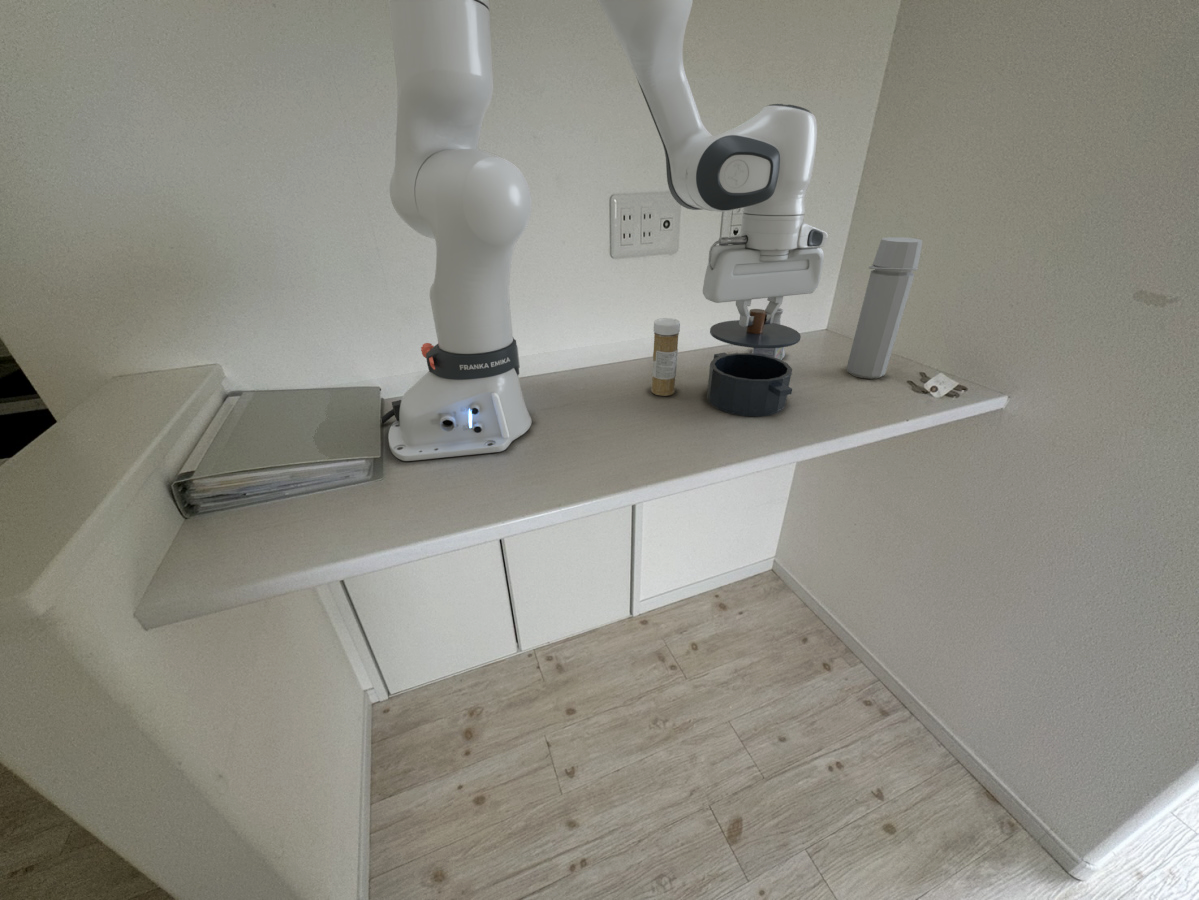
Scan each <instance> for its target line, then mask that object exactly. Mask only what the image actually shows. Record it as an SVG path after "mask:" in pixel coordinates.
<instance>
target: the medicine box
mask: <svg viewBox="0 0 1199 900" xmlns="http://www.w3.org/2000/svg"><path fill="white" fill-rule="evenodd" d="M783 349H784V350H785V347H782V348H752V351H753V354H761V355H766V356H770V357H774V358H778V359H780V360H782V359H783V358H782V355H783ZM782 361H783V360H782Z"/></svg>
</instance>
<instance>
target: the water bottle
mask: <svg viewBox="0 0 1199 900" xmlns="http://www.w3.org/2000/svg"><path fill="white" fill-rule="evenodd" d="M923 242H924V241H923V239H920V238H914V237H899V236H897V237H896V236H894V237H893V236H889V237H887V236H886V237H882V238H881V239H880V242H879V244H878V248H877V250H876V253H875V256H874V259H873V261H872V264H871V265H870V266H868V269H870V273H869V277H868V282H867V285H866V289H865V293H864V298H863V302H862V306H861V310H860V314H859V318H858V322H857V324H856V329H855V333H854V338H853V341H852V345H851V348H850V352H849V357H848V360H847V364H846V371H847V373H849V374H851V376H855V377H857V378H860V379H867V380H868V379H869V380H872V379H874V380H875V379H879V378H882V377H884V376H885V375H886V372H887V370H888V366H889V362H890V360H891V356H892V353H893V349H894V346H895V343H896V339H897V335H898V333H899V329H900V325H901V322H902V319H903V316H904V311H905V308H906V305H907V302H908V300H909V299H908V298H909V295H910V292H911V290H912V289H911V288H912V285H913V283H914V278H915V273H914V272H916V271H918V270H919V263H920V259H921V253H922V247H923Z"/></svg>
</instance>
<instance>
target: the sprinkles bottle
mask: <svg viewBox="0 0 1199 900" xmlns="http://www.w3.org/2000/svg"><path fill="white" fill-rule="evenodd" d="M680 331H681V322H680V320H678V319H676V318H671V317H662V318H657V319H655V320H654V322H653V336H654V337H653V352H652V353H653V354H652V366H651V367H652V369H651V377H652V379H651V389H650V391H651V393H652V394H653V395H656V396H663V397H666V396H671V395H673V394H675V392H676V389H675V387H676V376H677V367H678V366H677V363H678V351H679V349H678V345H679V335H680Z"/></svg>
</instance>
